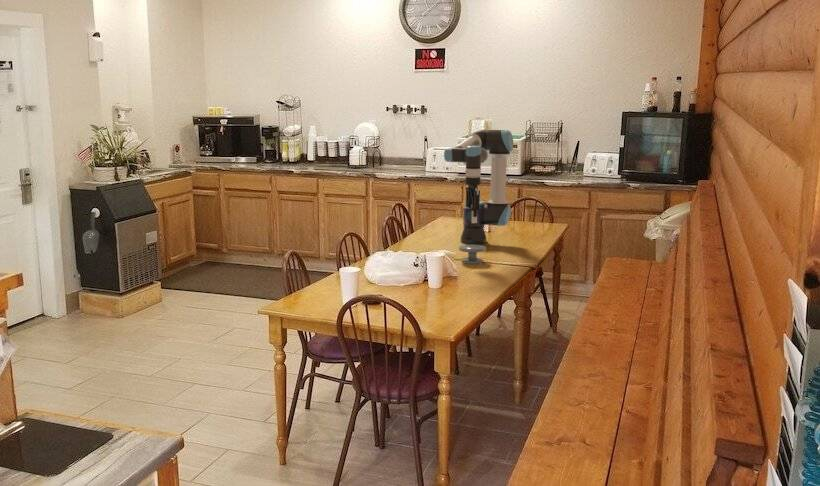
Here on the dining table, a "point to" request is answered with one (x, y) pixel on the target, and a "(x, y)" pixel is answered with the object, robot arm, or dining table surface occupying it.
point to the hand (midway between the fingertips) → (472, 221)
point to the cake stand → (472, 253)
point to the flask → (468, 216)
